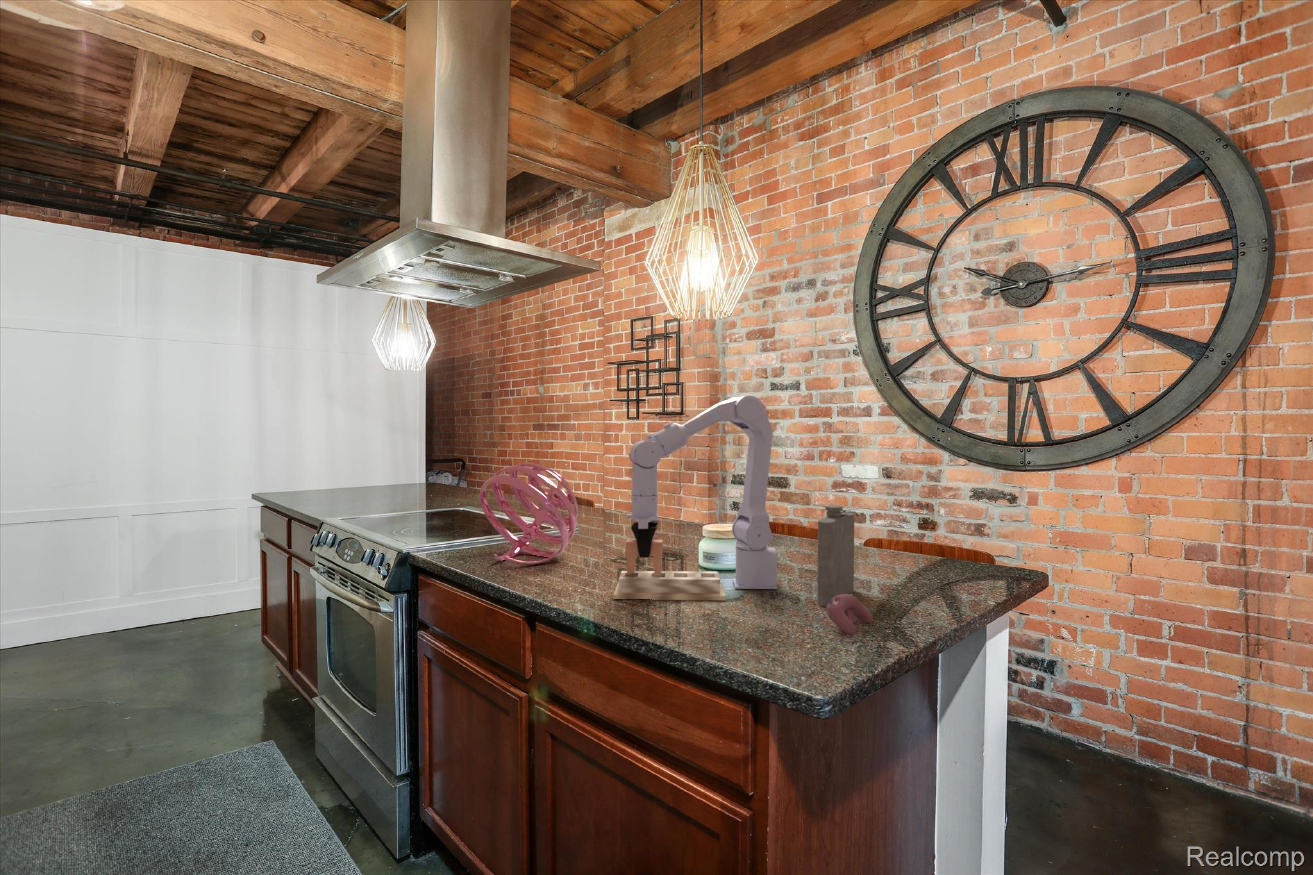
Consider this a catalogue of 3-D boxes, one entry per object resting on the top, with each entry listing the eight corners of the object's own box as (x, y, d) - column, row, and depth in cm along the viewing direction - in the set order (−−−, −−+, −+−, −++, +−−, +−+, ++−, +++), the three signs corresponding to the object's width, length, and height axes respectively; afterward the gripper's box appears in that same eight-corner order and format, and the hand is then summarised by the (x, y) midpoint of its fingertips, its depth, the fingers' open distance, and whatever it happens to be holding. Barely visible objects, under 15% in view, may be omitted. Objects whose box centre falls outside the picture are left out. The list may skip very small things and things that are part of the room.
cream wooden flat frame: (721, 586, 147) (721, 569, 147) (725, 600, 136) (725, 581, 136) (618, 585, 148) (618, 568, 148) (613, 599, 137) (613, 581, 137)
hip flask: (829, 607, 132) (830, 511, 131) (810, 603, 134) (811, 509, 133) (855, 590, 144) (856, 502, 144) (838, 587, 147) (838, 500, 146)
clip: (662, 570, 144) (662, 539, 143) (662, 573, 141) (662, 542, 140) (627, 570, 144) (626, 539, 144) (626, 573, 141) (625, 542, 141)
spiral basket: (489, 500, 151) (554, 433, 169) (434, 516, 170) (498, 454, 188) (558, 584, 159) (614, 512, 178) (498, 590, 178) (554, 525, 196)
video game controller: (855, 627, 124) (840, 592, 126) (876, 620, 121) (860, 585, 123) (834, 641, 116) (818, 603, 118) (855, 634, 114) (839, 596, 116)
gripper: (629, 490, 149) (629, 548, 150) (624, 499, 135) (624, 562, 135) (659, 490, 149) (659, 548, 149) (657, 499, 134) (657, 563, 135)
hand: (644, 555), depth 142 cm, fingers closed on clip, 3 cm apart
